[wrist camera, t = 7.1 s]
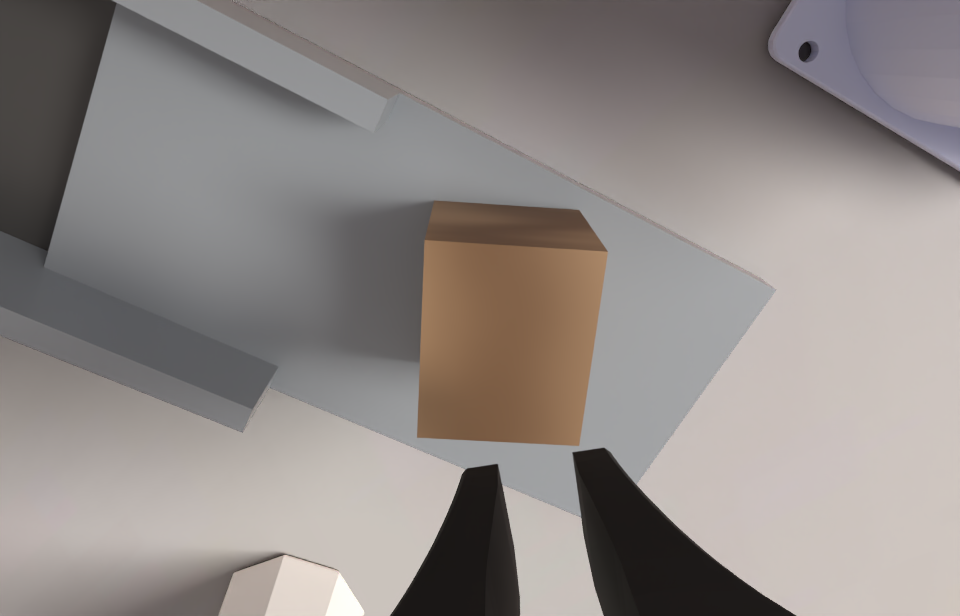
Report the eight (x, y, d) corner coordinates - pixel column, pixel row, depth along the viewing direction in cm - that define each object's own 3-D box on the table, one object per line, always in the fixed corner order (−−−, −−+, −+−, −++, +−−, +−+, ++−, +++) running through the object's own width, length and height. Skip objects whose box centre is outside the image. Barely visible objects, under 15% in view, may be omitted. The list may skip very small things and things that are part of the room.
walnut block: (579, 209, 18) (607, 251, 14) (558, 371, 20) (579, 446, 16) (434, 200, 18) (424, 239, 14) (427, 363, 19) (416, 437, 16)
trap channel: (762, 278, 20) (819, 324, 16) (599, 508, 23) (621, 584, 20) (-155, -202, 15) (-329, -273, 12) (-201, 169, 18) (-349, 195, 15)
